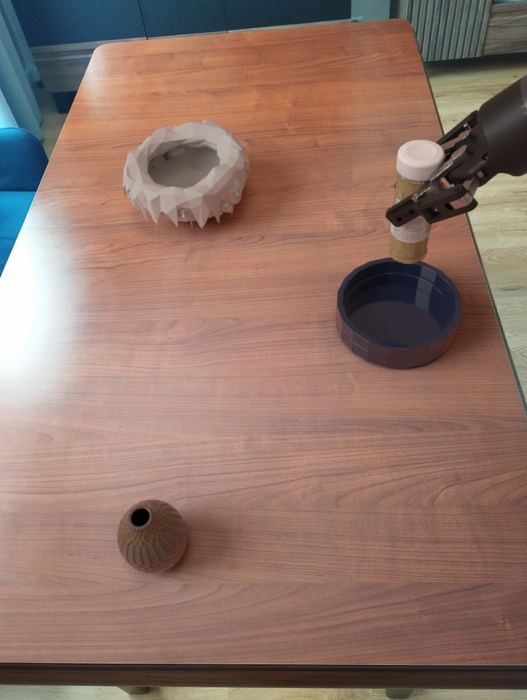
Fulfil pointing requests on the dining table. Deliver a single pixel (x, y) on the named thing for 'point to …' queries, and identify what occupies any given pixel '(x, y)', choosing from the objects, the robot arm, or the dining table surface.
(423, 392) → the dining table surface
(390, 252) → the sprinkles bottle
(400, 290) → the pan
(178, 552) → the vase
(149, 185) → the bowl
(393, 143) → the dining table surface
